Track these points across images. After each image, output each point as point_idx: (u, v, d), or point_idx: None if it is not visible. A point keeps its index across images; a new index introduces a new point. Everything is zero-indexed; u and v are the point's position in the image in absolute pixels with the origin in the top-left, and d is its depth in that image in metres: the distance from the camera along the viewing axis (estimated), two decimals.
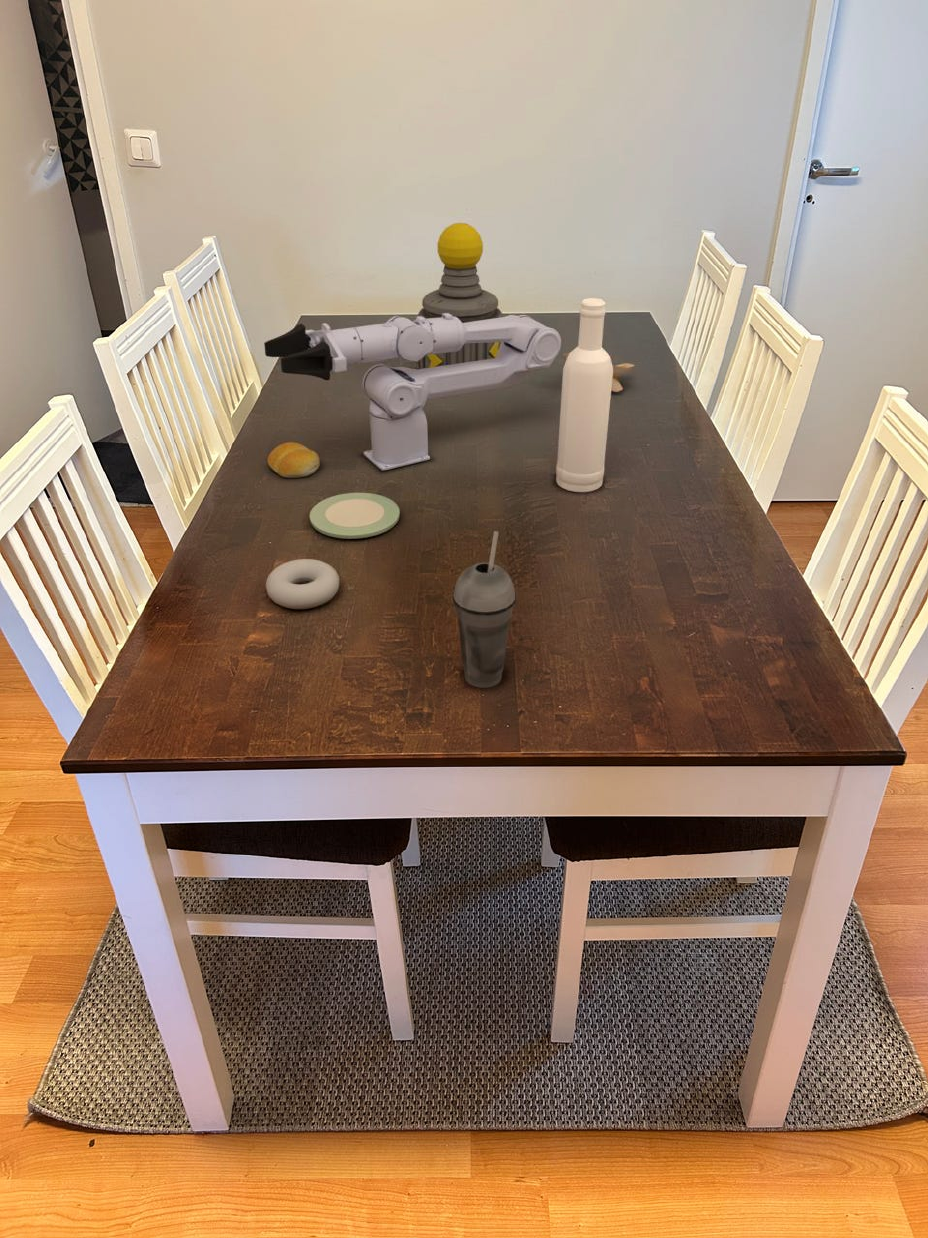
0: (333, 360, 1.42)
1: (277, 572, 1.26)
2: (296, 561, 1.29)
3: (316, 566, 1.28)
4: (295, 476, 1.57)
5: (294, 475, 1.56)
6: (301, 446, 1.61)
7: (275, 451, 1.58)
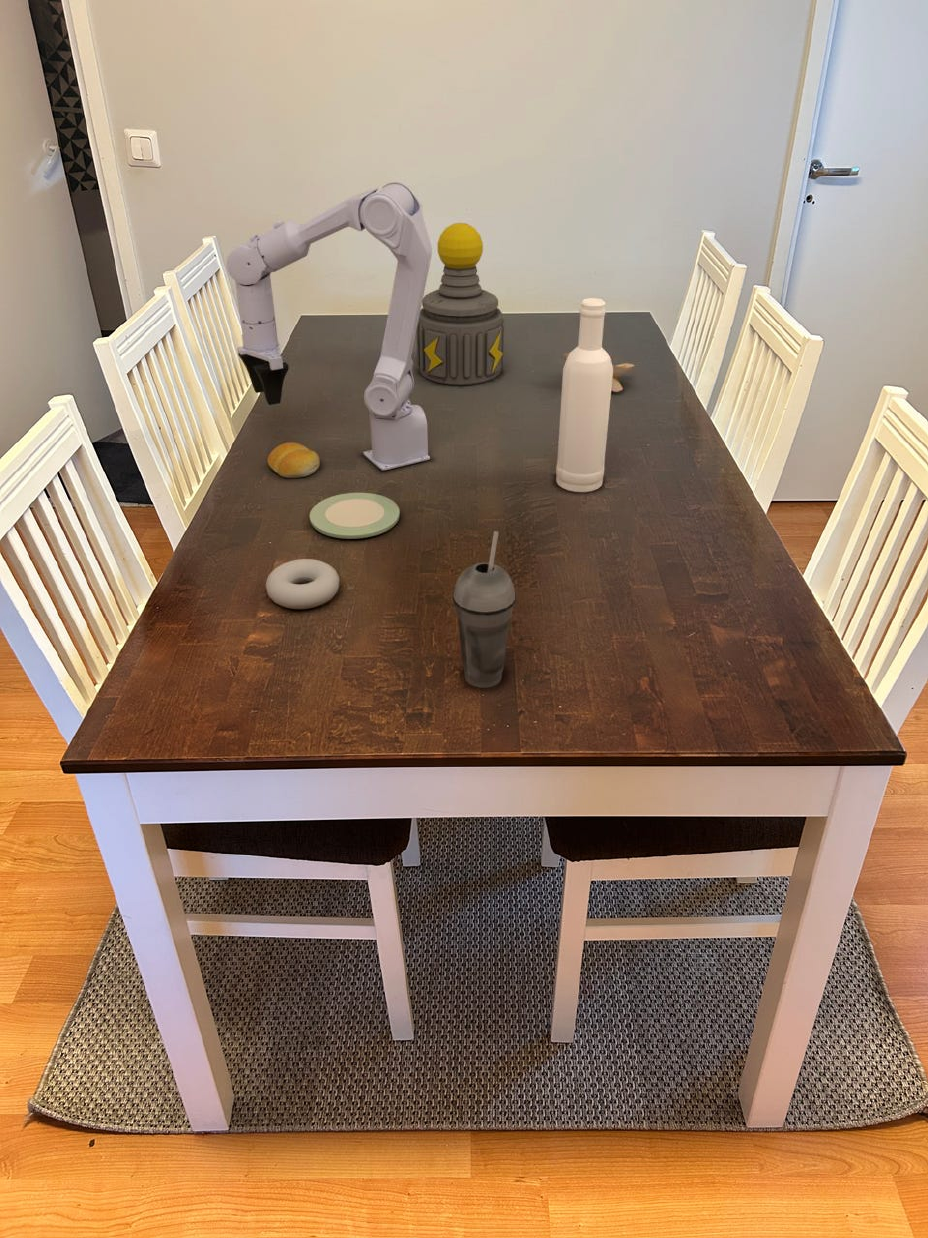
0: None
1: (277, 572, 1.26)
2: (296, 561, 1.29)
3: (316, 566, 1.28)
4: (295, 476, 1.57)
5: (294, 475, 1.56)
6: (301, 446, 1.61)
7: (275, 451, 1.58)
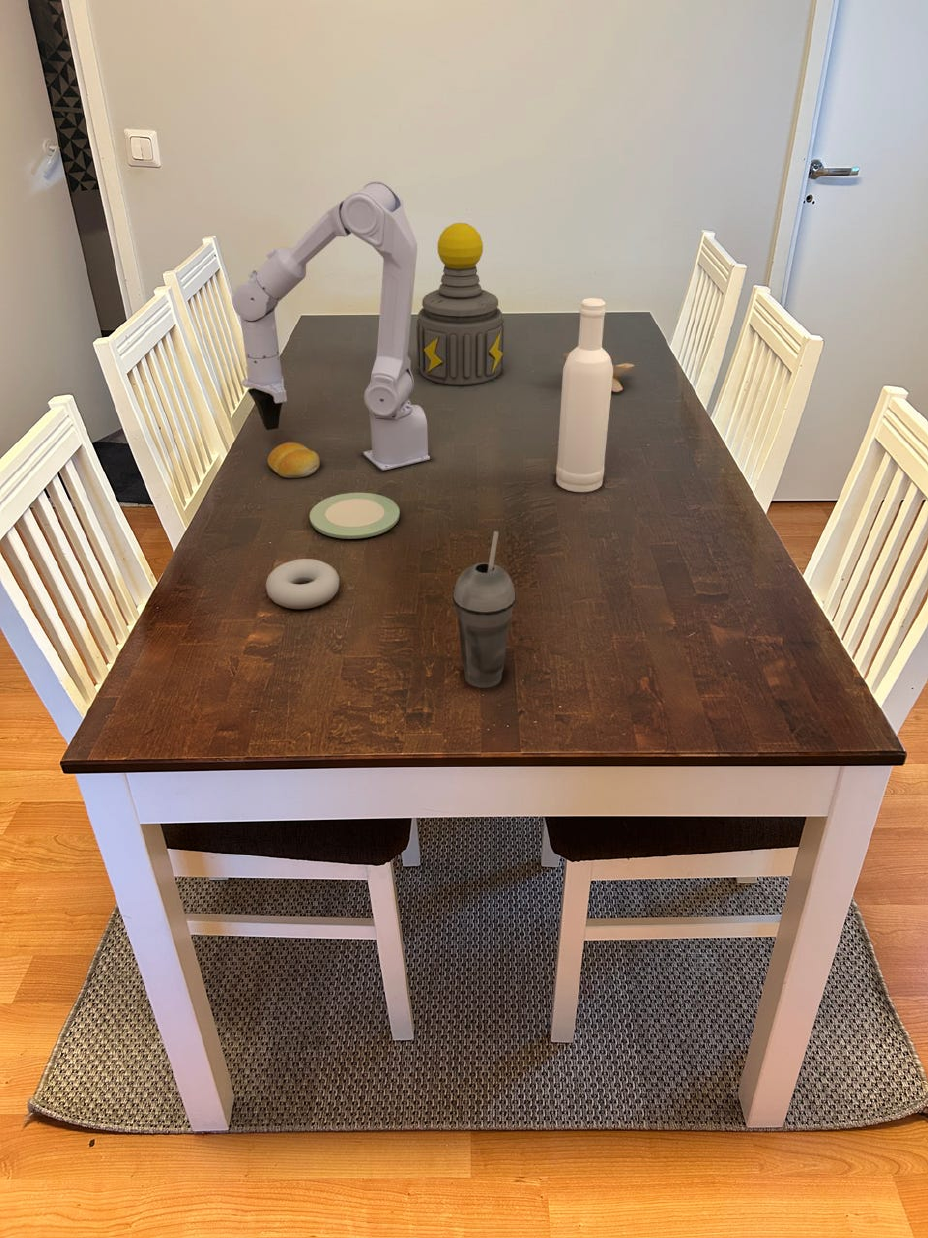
0: None
1: (277, 572, 1.26)
2: (296, 561, 1.29)
3: (316, 566, 1.28)
4: (295, 476, 1.57)
5: (294, 475, 1.56)
6: (301, 446, 1.61)
7: (275, 451, 1.58)
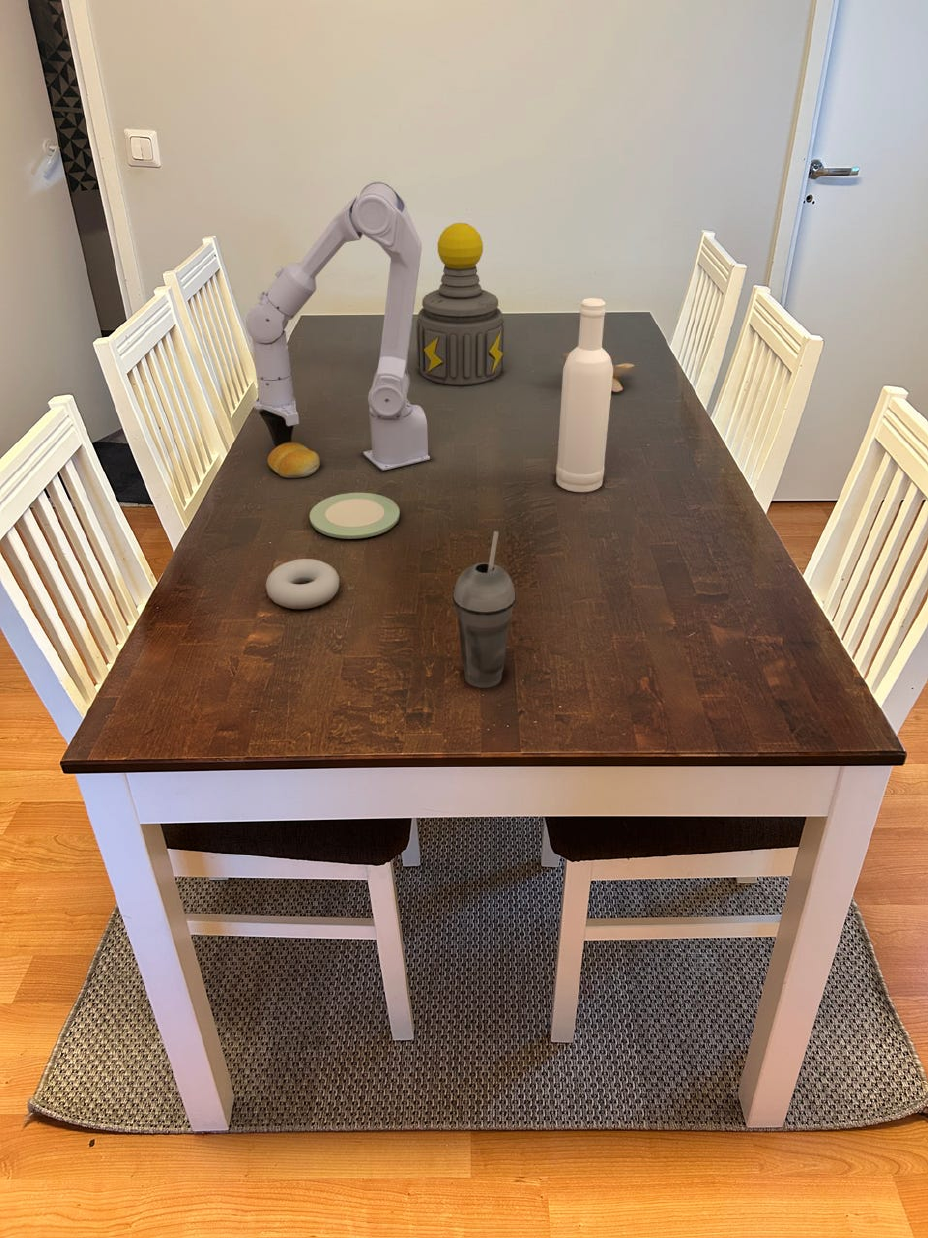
0: None
1: (277, 572, 1.26)
2: (296, 561, 1.29)
3: (316, 566, 1.28)
4: (295, 476, 1.57)
5: (294, 475, 1.56)
6: (301, 446, 1.61)
7: (275, 451, 1.58)
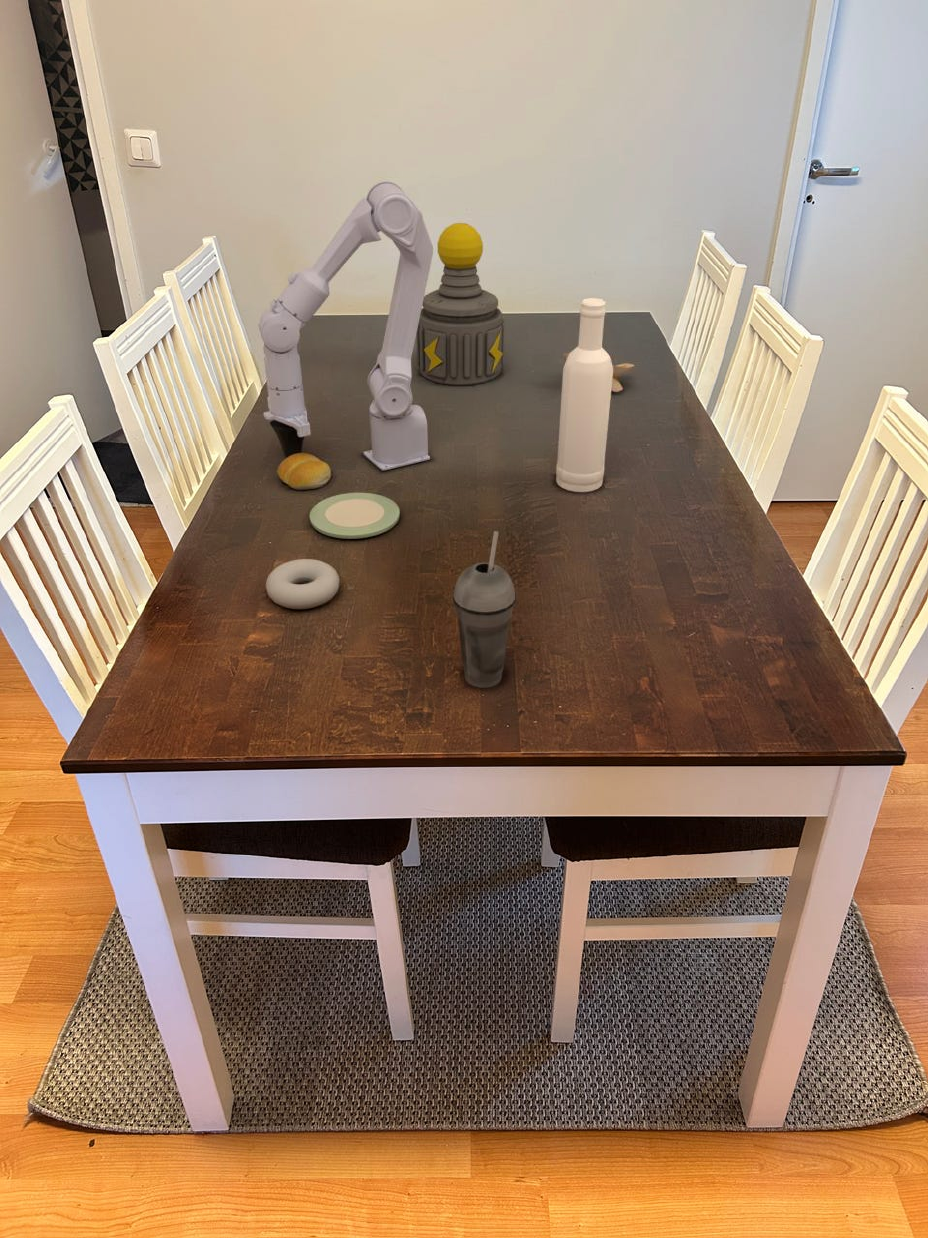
0: None
1: (277, 572, 1.26)
2: (296, 561, 1.29)
3: (316, 566, 1.28)
4: (306, 488, 1.53)
5: (305, 487, 1.53)
6: (312, 457, 1.57)
7: (285, 462, 1.55)
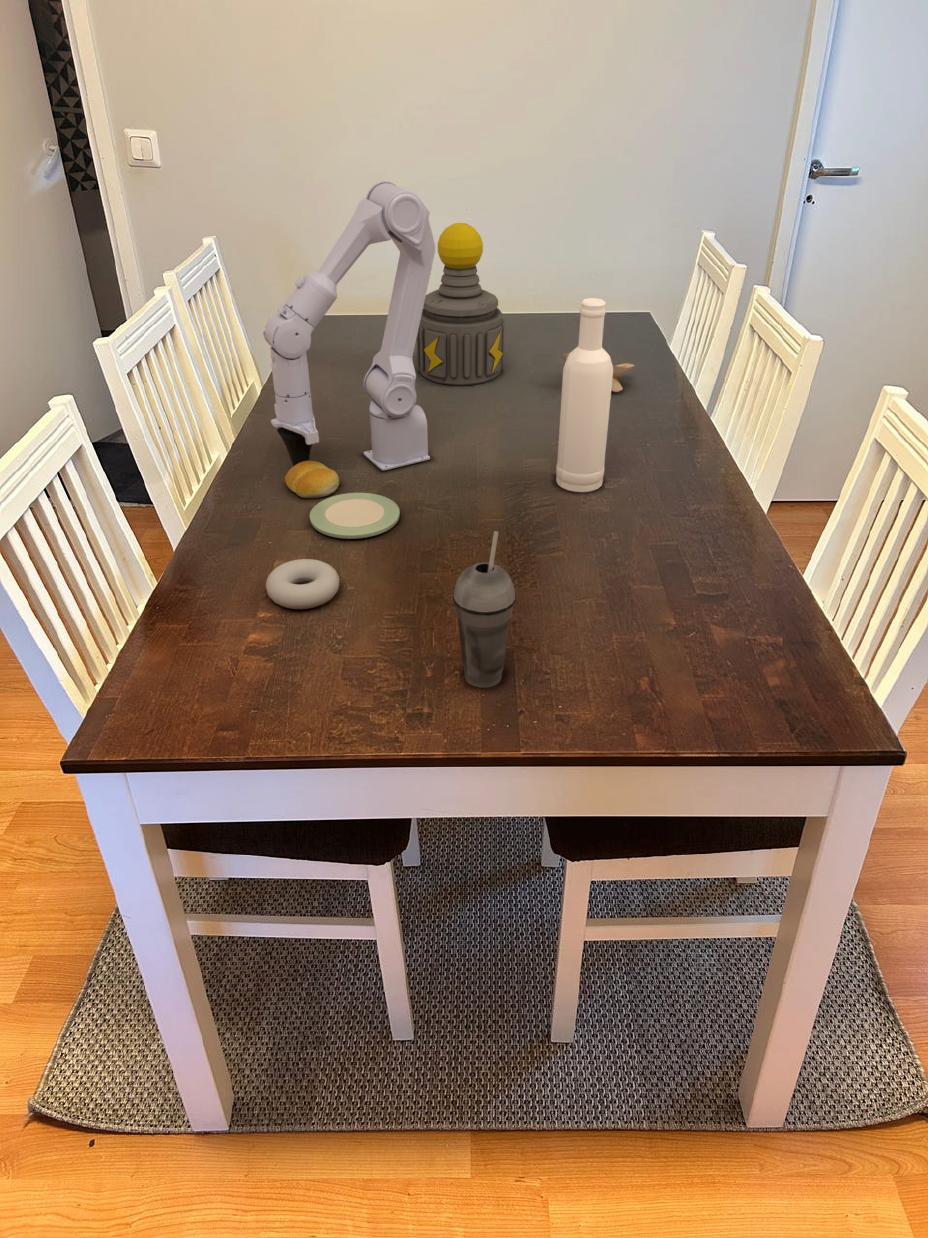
0: None
1: (277, 572, 1.26)
2: (296, 561, 1.29)
3: (316, 566, 1.28)
4: (314, 496, 1.51)
5: (313, 495, 1.50)
6: (320, 465, 1.54)
7: (293, 470, 1.52)
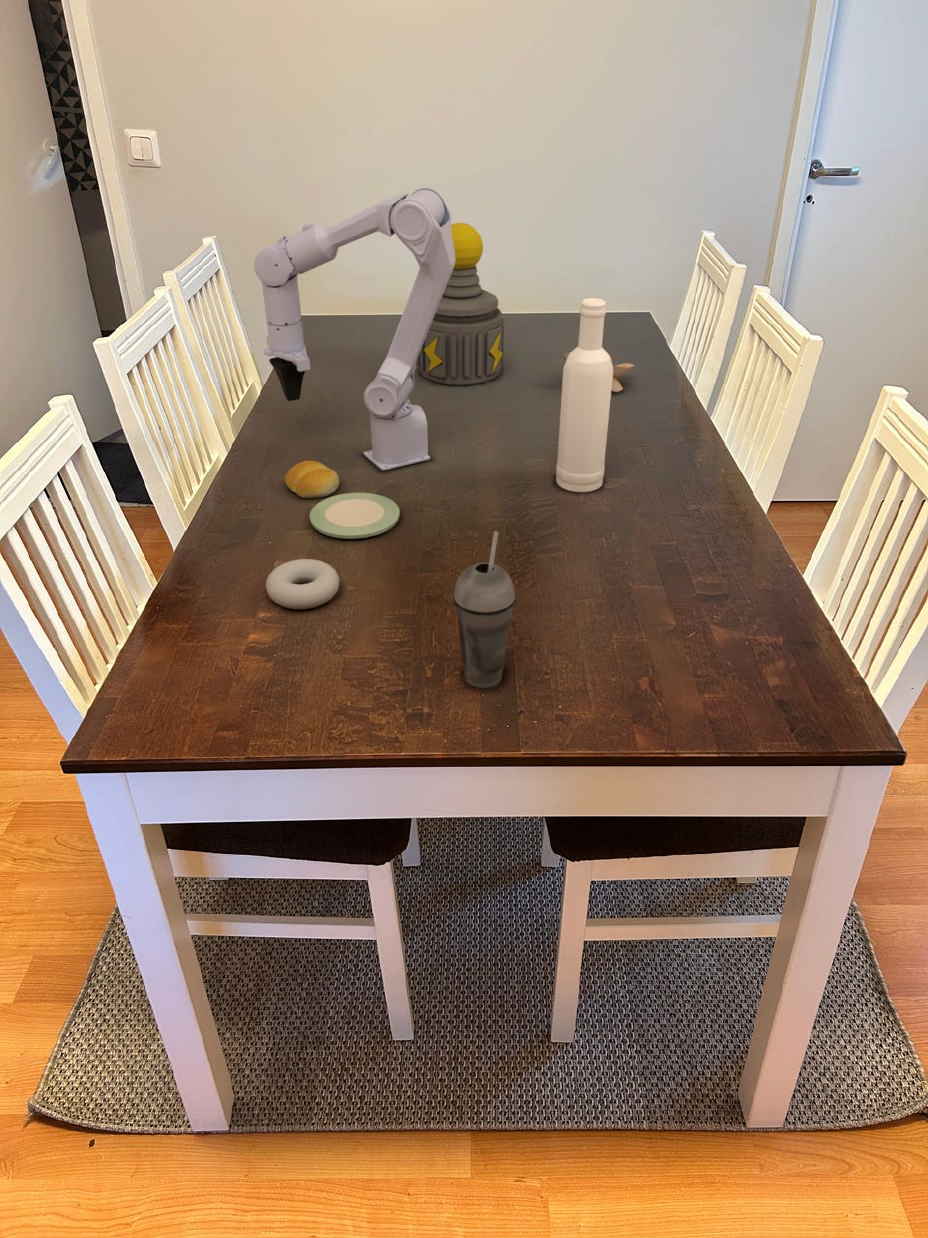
0: None
1: (277, 572, 1.26)
2: (296, 561, 1.29)
3: (316, 566, 1.28)
4: (314, 496, 1.51)
5: (313, 495, 1.50)
6: (320, 465, 1.54)
7: (293, 470, 1.52)
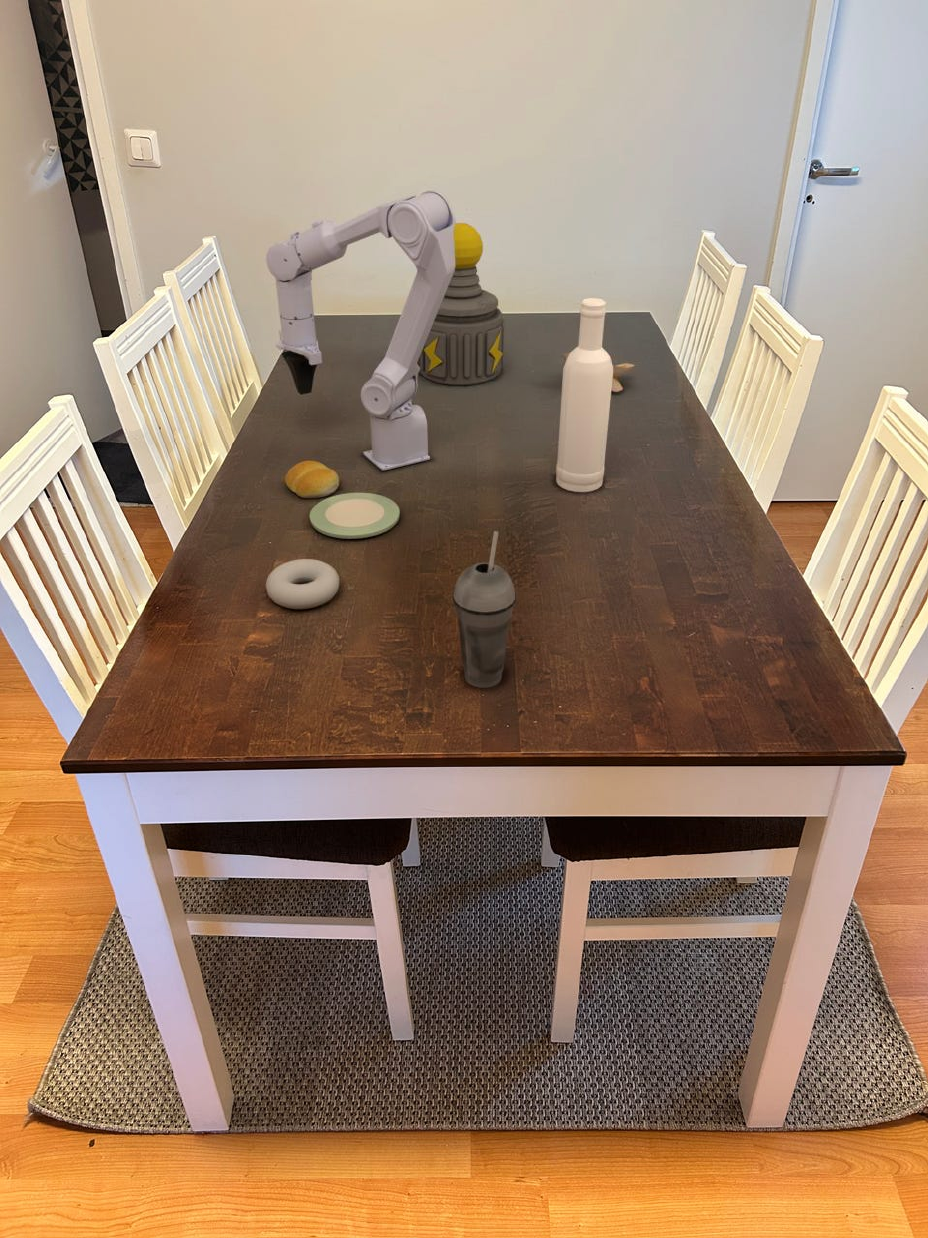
0: None
1: (277, 572, 1.26)
2: (296, 561, 1.29)
3: (316, 566, 1.28)
4: (314, 496, 1.51)
5: (313, 495, 1.50)
6: (320, 465, 1.54)
7: (293, 470, 1.52)
